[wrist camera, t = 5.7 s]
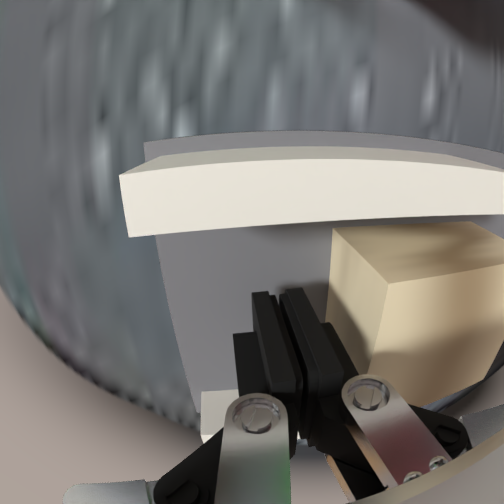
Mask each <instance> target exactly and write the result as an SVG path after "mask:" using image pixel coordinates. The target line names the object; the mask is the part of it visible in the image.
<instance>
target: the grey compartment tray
mask: <svg viewBox="0 0 504 504" xmlns="http://www.w3.org/2000/svg"><path fill="white" fill-rule="evenodd" d="M144 152H145V162H146V163H144V164H142V165H140V166H137V167H135V168H133V169H131V170H129V171H127V172H125V173H123V174H121V175H119V179H120V186H121V193H122V200H123V206H124V212H125V218H126V224H127V229H128V235H129V237H137V236H147V235H155V237H156V243H157V248H158V254H159V260H160V265H161V270H162V276H163V281H164V286H165V290H166V295H167V300H168V305H169V309H170V314H171V318H172V322H173V327H174V331H175V335H176V339H177V343H178V347H179V351H180V355H181V359H182V362H183V366H184V370H185V373H186V377H187V381H188V384H189V388H190V391H191V394H192V398H193V401H194V404H195V408H196V411H197V413H201V437H202V440H203V443H205V442H206V441H208V440H209V439H210V438H211V437H212V436H213V435H215V434H216V433H217V432H218V431H219V430H220V429H221V428H223V427H224V422H225V415H226V412H227V409H228V407H229V406H230V404H231V403H232V402H233V401H235V400H236V399H238V398H239V393H238V383H237V374H236V364H235V354H234V344H233V334H234V333H244V332H253V317H252V299H251V293H252V292H261V291H268V292H269V295H275V296H276V299H277V301H278V304H279V294H284V293H285V289H291V288H300V287H302V288H303V290H304V292H305V294H306V296H307V298H308V299H309V301H310V303H311V305H312V307H313V309H314V311H315V313H316V315H317V317H318V319H319V321H320V323H325V318H326V309H327V299H328V288H329V276H330V263H331V249H332V231H333V228H342V227H359V226H377V225H396V224H417V223H440V222H465V221H471V222H473V223H475V224H477V225H479V226H481V227H482V228H484V229H486V230H488V231H490V232H492V233H493V234H495V235H497V236H499V237H501V238H502V239H504V153H500V152H496V151H491V150H487V149H482V148H477V147H472V146H467V145H461V144H456V143H450V142H444V141H437V140H430V139H423V138H415V137H407V136H397V135H387V134H375V133H361V132H343V131H253V132H235V133H220V134H208V135H197V136H188V137H179V138H170V139H163V140H156V141H150V142H144ZM297 439H300V436H299V432H298V436H297Z"/></svg>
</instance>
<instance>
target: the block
mask: <svg viewBox="0 0 504 504" xmlns="http://www.w3.org/2000/svg"><path fill="white" fill-rule="evenodd" d="M325 322H330V323H331V324H332V325H333V327H334V329H335V331H336V333H337V334H338V336H339V338H340V340H341V342H342V344H343V345H344V347H345V349H346V351H347V353H348V355H349V356H350V358H351V360H352V362H353V364H354V366H355V368H356V370H357V371H358V373H359V375H363V374H371V375H376V376H379V377H381V378H383V379H385V380H387V381H388V382H389V383H390V384H391V385H392V386H393V387H394V388H395V390H396V391H397V392H398V393H399V394H400V396H401V397H402V398H403V399H404V400H405V402H406V403H408V404H411V405H414V406H417V407H421V406H424V405H427V404H429V403H432V402H434V401H437V400H439V399H442V398H444V397H446V396H449V395H451V394H453V393H456V392H458V391H460V390H462V389H464V388H466V387H469V386H471V385H473V384H475V383H477V382H479V381H481V380H483V379H484V377H485V376H486V374H487V372H488V370H489V368H490V366H491V365H492V363H493V361H494V359H495V357H496V355H497V353H498V351H499V349H500V347H501V345H502V343H503V340H504V239H502V238H501V237H499V236H497V235H495V234H493V233H492V232H490V231H488V230H486V229H484V228H482V227H481V226H479V225H477V224H475V223H473V222H471V221H465V222H440V223H417V224H396V225H377V226H359V227H342V228H333V231H332V249H331V263H330V276H329V288H328V299H327V309H326V318H325Z"/></svg>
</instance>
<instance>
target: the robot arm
mask: <svg viewBox="0 0 504 504" xmlns="http://www.w3.org/2000/svg"><path fill="white" fill-rule="evenodd" d="M251 299H252V317H253V332H244V333H234V334H233V344H234V354H235V364H236V374H237V383H238V393H239V398H238V399H236V400H235V401H233V402H232V403H231V404H230V406H229V407H228V409H227V412H226V415H225V422H224V427H223V428H221V429H220V430H219V431H218V432H217V433H216V434H215V435H213V436H212V437H211V438H210V439H209V440H208V441H206V442H205V443H204V444H203V445H202V446H200V448H198V449H197V450H196V451H194V452H193V453H192V454H191V455H189V456H188V457H187V458H186V459H184V460H183V461H182V462H181V463H179V464H178V465H177V466H175V467H174V468H173V469H172V470H170V471H169V472H168V473H166V474H165V475H164V476H162V477H161V479H159V480H157V481H150V482H146V481H145V480H136V481H126V482H113V483H92V484H78V485H73V486H72V487H70V488H69V489H67V491H66V492H65V494H64V497H63V504H291V486H290V459H291V458H292V457H293V455H294V454H295V450H296V443H297V436H298V432H299V436H300V438H301V439H307V442H308V446H309V447H311V446H316V449H317V450H318V451H321V452H323V453H325V457H326V460H327V462H328V464H329V466H330V468H331V470H332V471H333V473H334V475H335V477H336V479H337V480H338V483H339V484H340V486H341V488H342V490H343V492H344V494H345V495H346V497H347V499H348V501H349V503H347V504H504V404H503V405H499V406H497V407H493V408H490V409H486V410H483V411H479V412H476V413H472V414H468V415H464V416H461V418H460V419H459V420H457V419H455V418H453V417H449V416H446V415H443V414H440V413H436V412H433V411H430V410H426V409H423V408H420V407H417V406H414V405H411V404H408V403H406V402H405V400H404V399H403V398H402V397H401V396H400V394H399V393H398V392H397V391H396V390H395V388H394V387H393V386H392V385H391V384H390V383H389V382H388V381H387V380H385V379H383V378H381V377H379V376H376V375H371V374H363V375H359V373H358V371H357V370H356V368H355V366H354V364H353V362H352V360H351V358H350V356H349V355H348V353H347V351H346V349H345V347H344V345H343V344H342V342H341V340H340V338H339V336H338V334H337V333H336V331H335V329H334V327H333V325H332V324H331V323H330V322H325V323H320V321H319V319H318V317H317V315H316V313H315V311H314V309H313V307H312V305H311V303H310V301H309V299H308V298H307V296H306V294H305V292H304V290H303V288H302V287H300V288H291V289H285V293H284V294H279V304H278V301H277V299H276V296H275V295H269V292H268V291H261V292H252V293H251Z"/></svg>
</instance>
